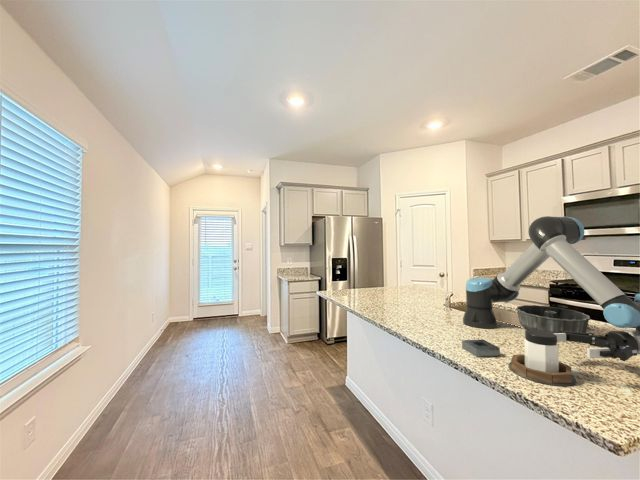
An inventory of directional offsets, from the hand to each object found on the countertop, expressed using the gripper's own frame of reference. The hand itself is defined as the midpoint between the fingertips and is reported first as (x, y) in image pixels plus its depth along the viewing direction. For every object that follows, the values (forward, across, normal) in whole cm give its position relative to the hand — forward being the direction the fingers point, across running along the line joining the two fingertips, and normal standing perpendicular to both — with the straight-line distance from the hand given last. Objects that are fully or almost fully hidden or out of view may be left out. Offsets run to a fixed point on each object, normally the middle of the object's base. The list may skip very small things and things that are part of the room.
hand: (566, 345), depth 90 cm
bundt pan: (-30, +36, -9) cm, 48 cm away
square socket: (+17, +18, -8) cm, 26 cm away
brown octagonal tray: (+9, 0, -8) cm, 13 cm away
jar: (+8, +1, -8) cm, 12 cm away
